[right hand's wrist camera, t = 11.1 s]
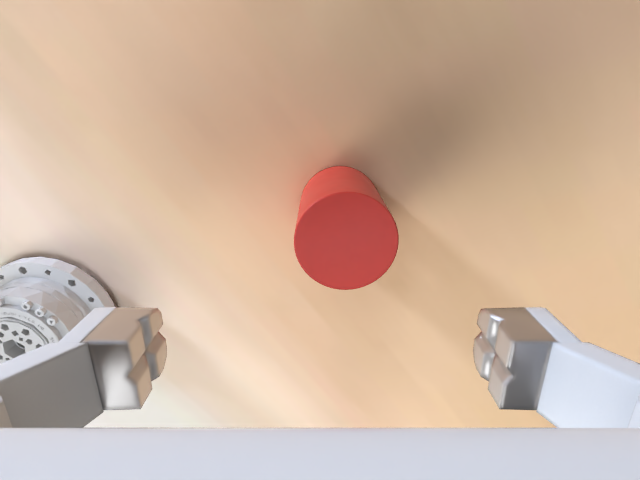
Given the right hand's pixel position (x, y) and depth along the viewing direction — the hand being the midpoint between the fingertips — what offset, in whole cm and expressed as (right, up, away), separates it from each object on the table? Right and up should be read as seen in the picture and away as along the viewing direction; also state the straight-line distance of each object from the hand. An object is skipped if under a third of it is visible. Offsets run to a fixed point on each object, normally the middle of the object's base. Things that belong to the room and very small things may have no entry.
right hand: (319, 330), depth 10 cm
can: (+1, +5, +18) cm, 18 cm away
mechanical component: (-20, -3, +21) cm, 29 cm away
